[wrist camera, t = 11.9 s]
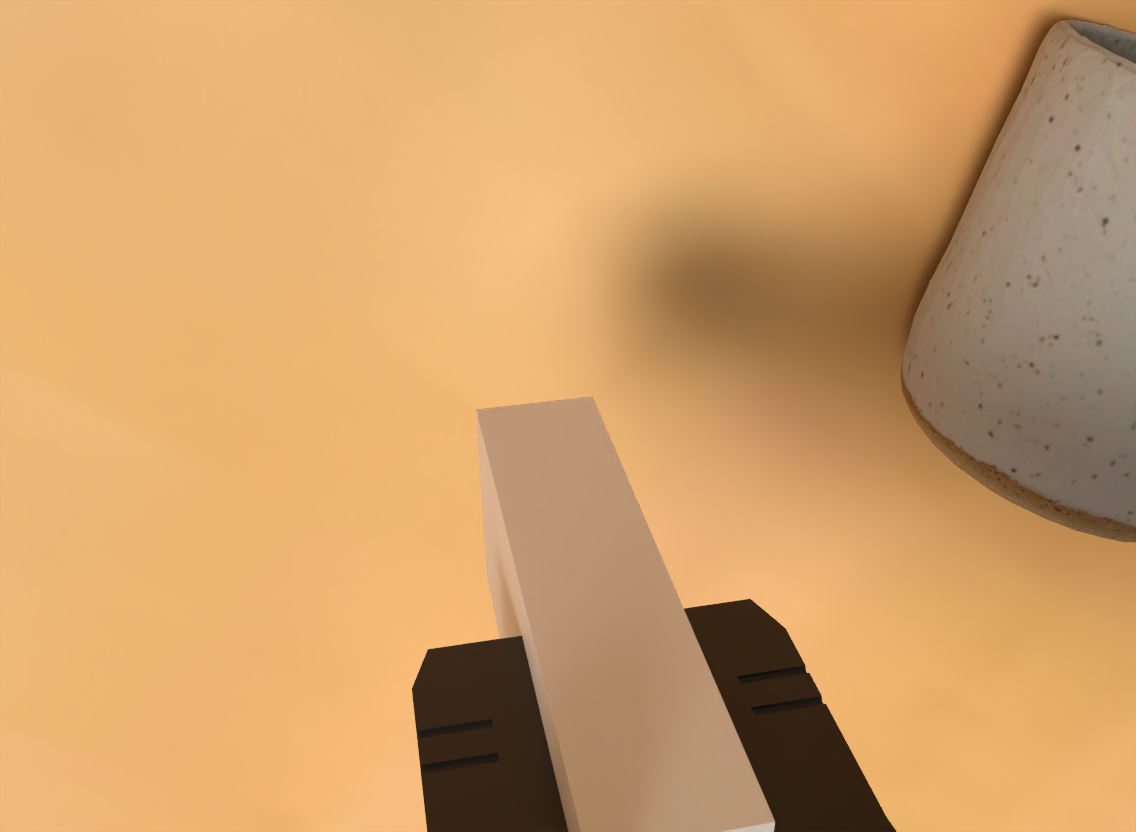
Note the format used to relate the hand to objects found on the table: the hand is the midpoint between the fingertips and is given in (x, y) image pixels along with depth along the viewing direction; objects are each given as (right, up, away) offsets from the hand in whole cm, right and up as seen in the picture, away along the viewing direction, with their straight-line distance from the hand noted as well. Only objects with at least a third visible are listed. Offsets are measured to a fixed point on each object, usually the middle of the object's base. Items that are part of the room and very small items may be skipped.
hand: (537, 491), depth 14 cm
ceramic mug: (+12, +6, +10) cm, 17 cm away
